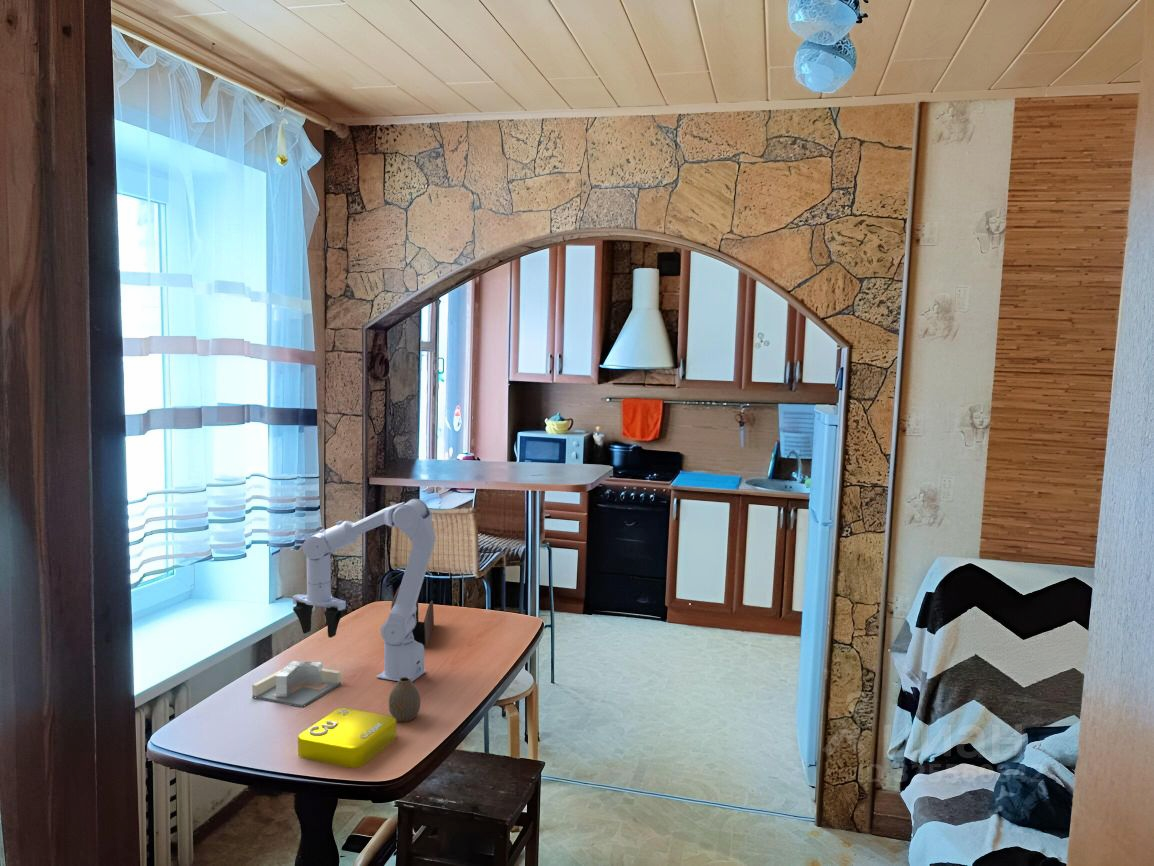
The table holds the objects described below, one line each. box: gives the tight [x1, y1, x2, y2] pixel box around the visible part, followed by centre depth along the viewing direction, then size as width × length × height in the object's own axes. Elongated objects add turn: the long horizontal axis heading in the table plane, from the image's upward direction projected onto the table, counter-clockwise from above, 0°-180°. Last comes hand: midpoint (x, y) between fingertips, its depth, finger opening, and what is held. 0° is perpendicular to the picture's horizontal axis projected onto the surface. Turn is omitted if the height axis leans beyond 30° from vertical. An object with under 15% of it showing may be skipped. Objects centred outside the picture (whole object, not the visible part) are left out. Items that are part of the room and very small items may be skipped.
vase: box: [388, 677, 422, 722], centre depth 170 cm, size 7×7×9 cm
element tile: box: [297, 707, 397, 769], centre depth 158 cm, size 15×15×5 cm
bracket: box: [276, 660, 323, 697], centre depth 182 cm, size 9×8×5 cm
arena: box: [251, 667, 342, 708], centre depth 183 cm, size 14×14×3 cm
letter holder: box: [390, 584, 435, 648], centre depth 220 cm, size 10×20×14 cm, turn 5°
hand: (319, 634), depth 195 cm, fingers open, 7 cm apart
